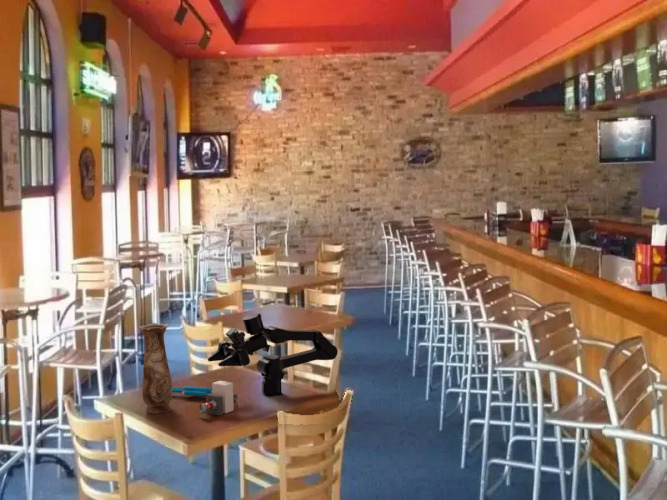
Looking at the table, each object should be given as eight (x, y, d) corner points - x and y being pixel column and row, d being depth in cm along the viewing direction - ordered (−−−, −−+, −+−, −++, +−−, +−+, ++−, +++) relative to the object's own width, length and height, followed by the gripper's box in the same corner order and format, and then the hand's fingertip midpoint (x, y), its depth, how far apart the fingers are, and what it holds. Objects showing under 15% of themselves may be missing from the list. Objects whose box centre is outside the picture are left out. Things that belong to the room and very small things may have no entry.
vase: (164, 415, 275) (161, 328, 273) (136, 413, 278) (133, 327, 276) (178, 407, 285) (175, 323, 283) (150, 405, 288) (148, 322, 286)
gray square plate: (209, 411, 278) (209, 393, 278) (222, 414, 275) (222, 396, 274) (206, 412, 277) (205, 394, 276) (219, 415, 273) (219, 397, 273)
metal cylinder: (231, 406, 285) (231, 392, 285) (237, 407, 283) (237, 394, 283) (199, 417, 272) (199, 403, 272) (206, 419, 270) (205, 404, 270)
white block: (220, 407, 283) (220, 380, 282) (233, 410, 279) (232, 382, 278) (212, 410, 279) (212, 382, 278) (225, 413, 276) (224, 385, 275)
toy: (152, 398, 298) (228, 403, 290) (152, 383, 298) (227, 388, 290) (163, 393, 306) (236, 398, 298) (162, 378, 305) (236, 383, 297)
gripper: (233, 321, 301) (196, 337, 294) (256, 328, 285) (217, 346, 278) (242, 348, 304) (205, 365, 296) (264, 357, 288) (226, 375, 280)
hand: (213, 362), depth 288 cm, fingers open, 9 cm apart
